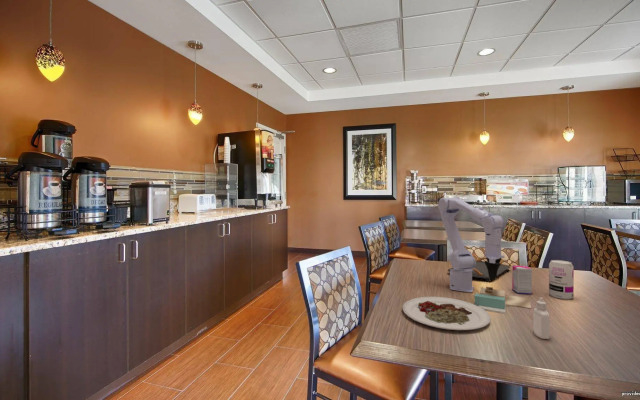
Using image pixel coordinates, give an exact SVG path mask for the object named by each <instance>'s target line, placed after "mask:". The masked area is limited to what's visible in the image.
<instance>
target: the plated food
mask: <svg viewBox="0 0 640 400" xmlns="http://www.w3.org/2000/svg"><path fill="white" fill-rule="evenodd" d="M478 306H479V305H474V304H473V303H471V302H468V301H465V300H461V299H456V298H452V297H451V298H450V297H444V296H422V297H421V296H420V297H414V298H412V299H409V300H406V301H405V302H403V304H402V311H403V312H404V314H405V315H406V316H407V317H408V318H410V319H412V320H413V321H415V322H418V323H419V324H420V323H421V324H423V325H426V326H429V327H433V328H437V329H443V330H454V331H472V330H477V329H482V328H483V327H486V326H488V325H489V324H490V322H491V315H490V313H488V312H487V311H486V310H484V309H482V308H480V307H478Z"/></svg>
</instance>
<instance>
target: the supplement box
mask: <svg viewBox="0 0 640 400" xmlns="http://www.w3.org/2000/svg"><path fill="white" fill-rule="evenodd" d="M511 278H512V280H511V281H512V282H511V284H512V285H511V290H512V291H513V292H514V293H515V294H517V295H532V293H533V292H532V290H533V289H532V287H533V285H532V283H533V282H532V281H533V279H532V278H533V270H532V268H530V267H529V266H526V265H512V277H511Z"/></svg>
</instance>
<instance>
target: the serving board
mask: <svg viewBox="0 0 640 400" xmlns="http://www.w3.org/2000/svg"><path fill="white" fill-rule="evenodd" d="M475 260H476V266H475V268H473V271H472V278H478V279H485V280H484V281H485V282H486V283H490V281H491V279H490V278H489V274H488V269H487V267H486V265H485V261H486V260H487V259H486V257H485V256H483V257H481V258H479V259H475ZM500 263H501V262H500ZM510 268H511V266H510V265H506V264H503V263H501V265H500V266H499V268H498V271H497V276H499V275H501V274H503V273H504V272H505V271H509V269H510ZM451 269H453V267H450V268H448V269H447V271H448V272H449V273H450V270H451Z"/></svg>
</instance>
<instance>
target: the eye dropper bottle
mask: <svg viewBox="0 0 640 400" xmlns="http://www.w3.org/2000/svg"><path fill="white" fill-rule="evenodd" d="M532 319H533V321H532V323H533V325H532V327H533V328H532V329H533V331H532V332H533V333H534V335H535V336H536V337H538V338H540V339H542V340H550V337H551V335H550V334H551V333H550V332H551V330H550V327H551V325H550V324H551V323H550V321H551V320H550V314H549V312H548V310H547V302H545V301H544V298H543V297H539V299H538V300H537V301H536V307H534V309H533V318H532Z"/></svg>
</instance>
